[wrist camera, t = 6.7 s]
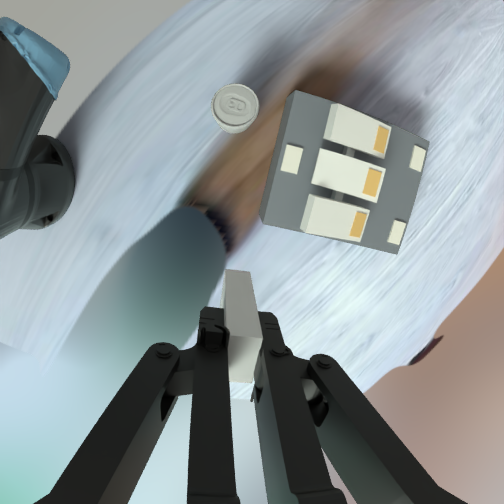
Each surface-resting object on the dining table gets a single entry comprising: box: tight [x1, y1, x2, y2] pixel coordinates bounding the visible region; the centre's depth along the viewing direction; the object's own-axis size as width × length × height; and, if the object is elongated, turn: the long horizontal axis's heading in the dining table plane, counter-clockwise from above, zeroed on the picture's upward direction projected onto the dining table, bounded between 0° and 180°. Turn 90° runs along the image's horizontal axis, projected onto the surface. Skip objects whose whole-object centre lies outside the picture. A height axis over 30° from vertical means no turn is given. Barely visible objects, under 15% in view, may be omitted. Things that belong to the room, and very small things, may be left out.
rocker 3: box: [300, 194, 370, 242], centre depth 34 cm, size 8×4×2 cm, turn 75°
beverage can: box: [211, 83, 259, 133], centre depth 32 cm, size 5×5×12 cm
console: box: [259, 90, 429, 255], centre depth 38 cm, size 20×17×7 cm
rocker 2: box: [311, 148, 386, 203], centre depth 33 cm, size 8×4×2 cm, turn 78°
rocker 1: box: [323, 103, 391, 159], centre depth 31 cm, size 8×4×2 cm, turn 75°
